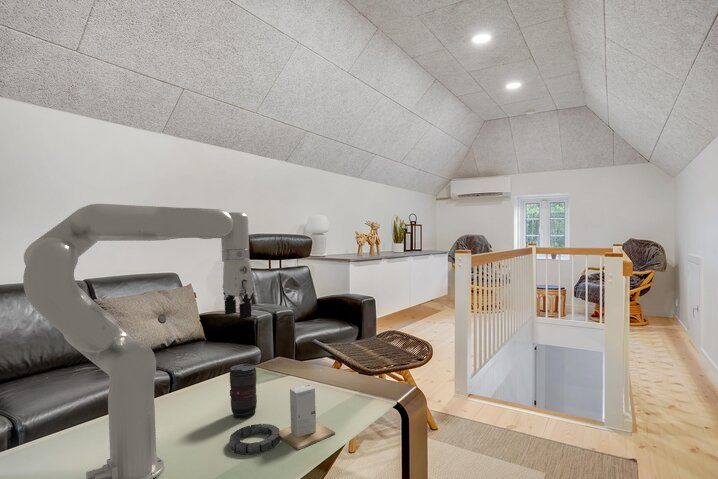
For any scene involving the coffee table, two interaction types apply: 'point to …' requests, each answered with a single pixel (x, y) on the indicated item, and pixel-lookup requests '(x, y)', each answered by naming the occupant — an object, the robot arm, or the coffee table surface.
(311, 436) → the pad
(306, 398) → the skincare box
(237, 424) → the coffee table surface
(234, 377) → the camera lens
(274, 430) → the collar
